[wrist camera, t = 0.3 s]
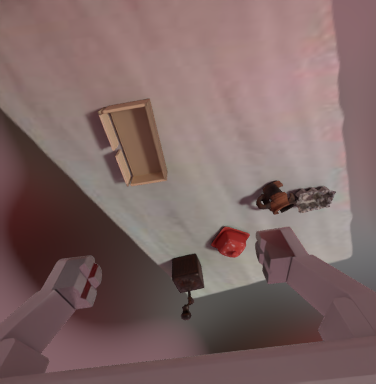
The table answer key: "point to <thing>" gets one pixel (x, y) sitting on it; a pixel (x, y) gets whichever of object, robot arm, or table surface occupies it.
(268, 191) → the pottery mug
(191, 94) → the table surface
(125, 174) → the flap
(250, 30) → the table surface
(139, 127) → the carton
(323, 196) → the egg carton
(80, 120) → the table surface
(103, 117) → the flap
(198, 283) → the manual coffee grinder
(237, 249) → the butter dish
